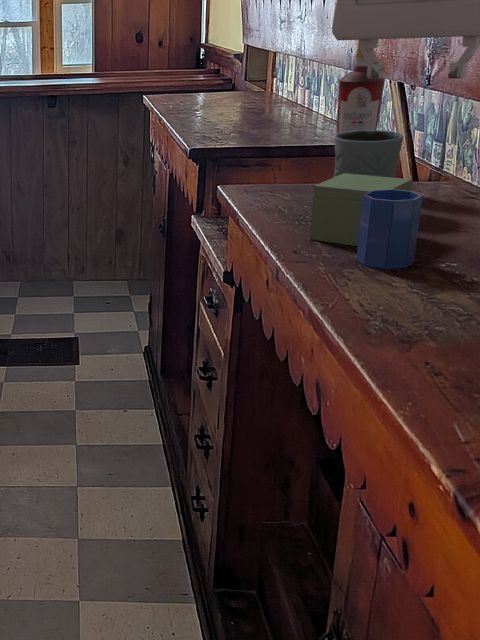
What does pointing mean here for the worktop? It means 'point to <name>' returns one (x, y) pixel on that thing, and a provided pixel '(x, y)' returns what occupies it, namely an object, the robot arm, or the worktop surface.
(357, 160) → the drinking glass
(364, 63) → the liquor
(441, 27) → the robot arm
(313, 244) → the worktop surface
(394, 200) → the cup
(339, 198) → the shelf
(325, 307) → the worktop surface
